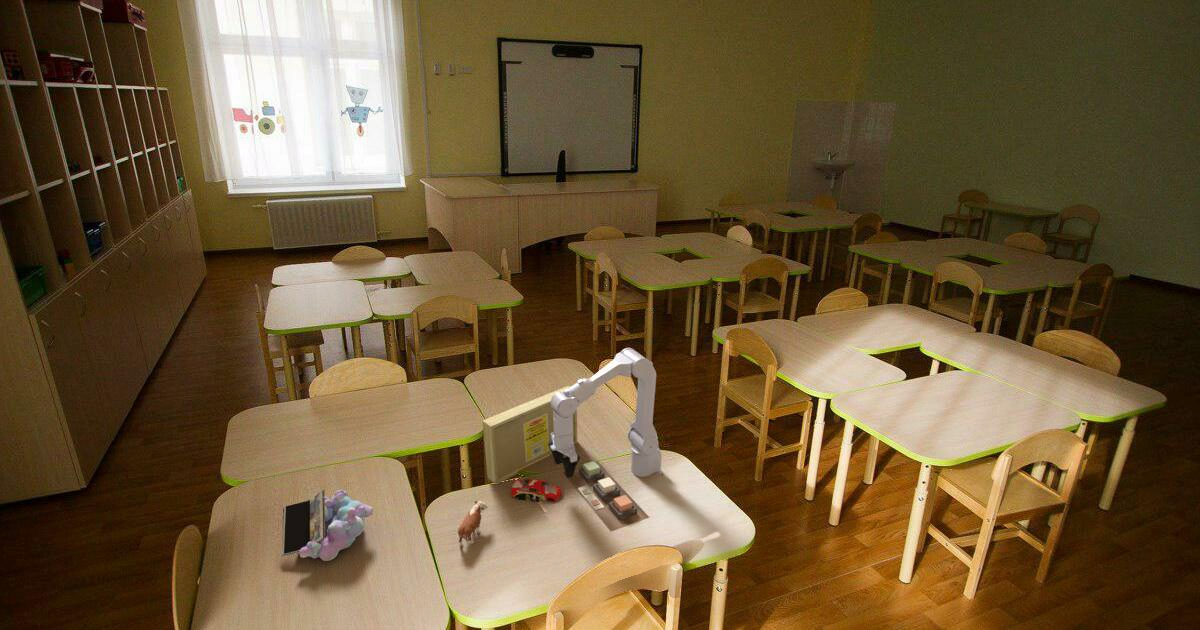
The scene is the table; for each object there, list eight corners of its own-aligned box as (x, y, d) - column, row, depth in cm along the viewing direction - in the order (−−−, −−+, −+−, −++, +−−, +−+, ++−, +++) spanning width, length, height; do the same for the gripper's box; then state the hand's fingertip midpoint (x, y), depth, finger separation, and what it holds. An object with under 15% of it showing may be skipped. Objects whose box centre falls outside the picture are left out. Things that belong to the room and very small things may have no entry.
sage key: (594, 467, 207) (594, 460, 206) (599, 473, 204) (599, 467, 203) (583, 470, 205) (583, 464, 204) (588, 477, 202) (588, 470, 201)
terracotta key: (625, 501, 191) (625, 494, 190) (632, 509, 187) (632, 502, 186) (613, 505, 189) (613, 498, 188) (620, 513, 185) (620, 506, 185)
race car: (565, 493, 198) (565, 480, 197) (559, 507, 192) (559, 493, 190) (516, 485, 202) (515, 472, 200) (508, 498, 196) (508, 485, 194)
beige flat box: (569, 439, 227) (568, 385, 219) (578, 444, 224) (577, 389, 216) (486, 478, 205) (482, 420, 197) (494, 485, 202) (490, 425, 194)
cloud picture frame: (392, 522, 178) (362, 466, 177) (330, 569, 160) (296, 507, 159) (351, 534, 189) (323, 481, 188) (288, 579, 170) (256, 521, 169)
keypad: (597, 464, 213) (597, 456, 212) (649, 519, 186) (649, 511, 185) (562, 474, 207) (562, 467, 206) (610, 534, 181) (610, 525, 180)
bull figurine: (491, 521, 185) (489, 498, 182) (467, 552, 173) (465, 528, 171) (478, 518, 187) (476, 495, 184) (453, 549, 175) (451, 524, 172)
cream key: (609, 483, 199) (609, 477, 198) (615, 490, 195) (615, 484, 195) (597, 487, 197) (597, 480, 196) (603, 494, 194) (604, 487, 193)
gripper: (541, 423, 192) (542, 461, 196) (561, 446, 180) (562, 486, 184) (562, 417, 195) (563, 455, 200) (583, 440, 183) (583, 479, 188)
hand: (564, 470), depth 192 cm, fingers open, 7 cm apart
